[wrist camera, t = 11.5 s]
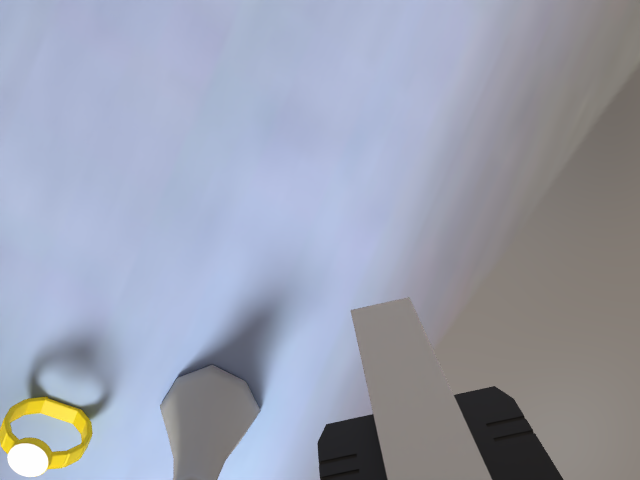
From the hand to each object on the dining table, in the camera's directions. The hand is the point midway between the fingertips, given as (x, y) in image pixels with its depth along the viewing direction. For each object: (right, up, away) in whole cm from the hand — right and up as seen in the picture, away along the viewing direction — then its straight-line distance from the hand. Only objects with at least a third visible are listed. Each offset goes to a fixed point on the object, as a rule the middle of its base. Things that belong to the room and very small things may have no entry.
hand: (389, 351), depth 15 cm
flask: (-10, -10, +31) cm, 34 cm away
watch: (-22, -10, +31) cm, 39 cm away
